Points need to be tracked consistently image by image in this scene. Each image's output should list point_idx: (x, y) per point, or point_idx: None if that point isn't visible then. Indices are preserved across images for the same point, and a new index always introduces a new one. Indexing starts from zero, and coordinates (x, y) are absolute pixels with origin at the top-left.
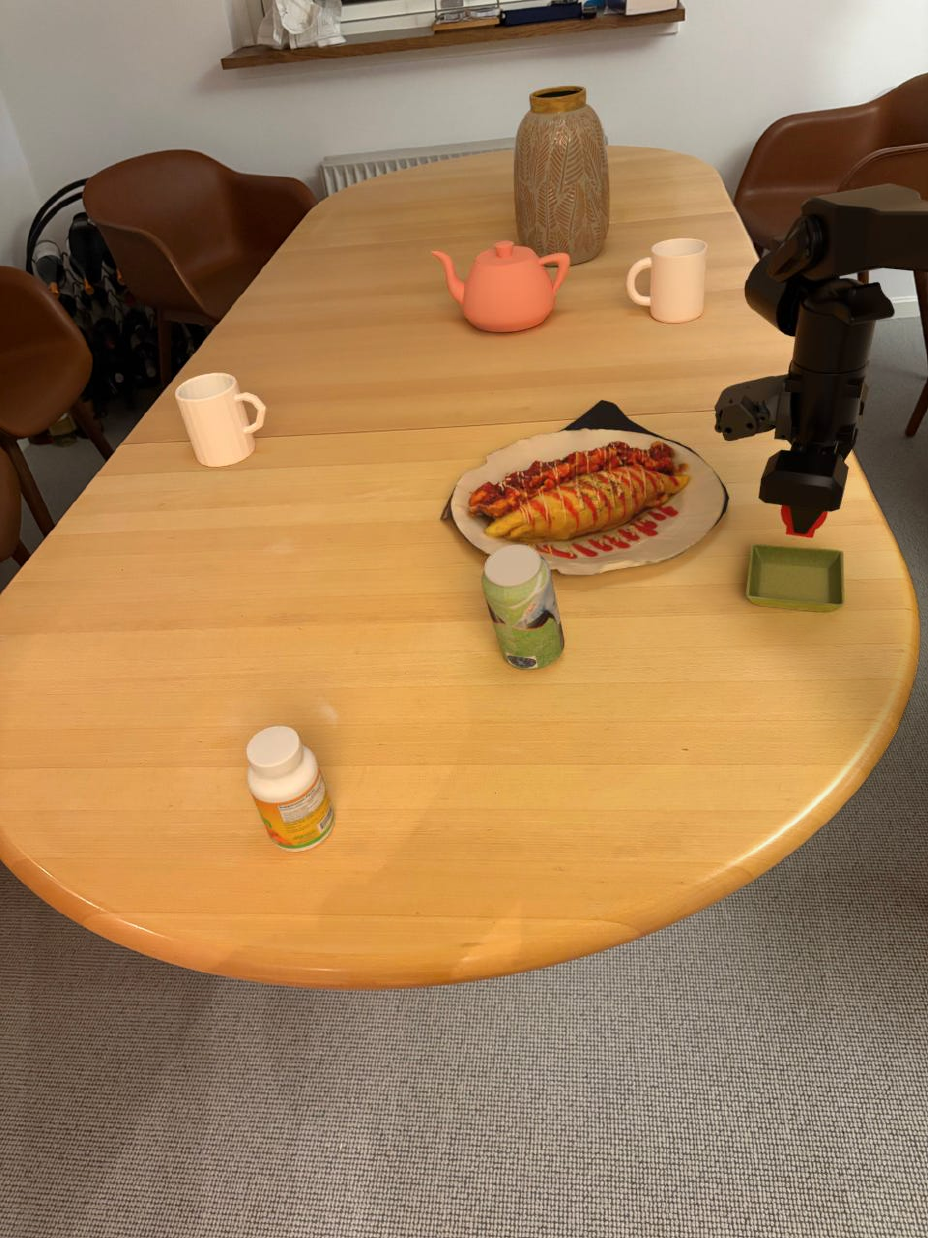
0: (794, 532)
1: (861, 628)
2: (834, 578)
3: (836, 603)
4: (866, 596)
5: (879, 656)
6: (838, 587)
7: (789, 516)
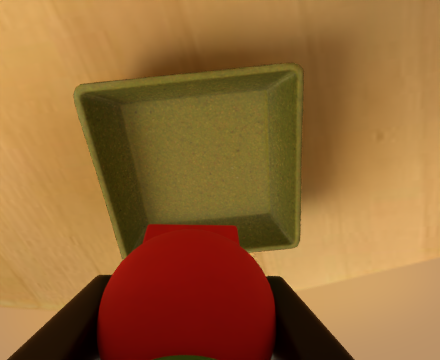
0: (99, 275)
1: None
2: None
3: None
4: None
5: (77, 286)
6: None
7: (104, 295)
